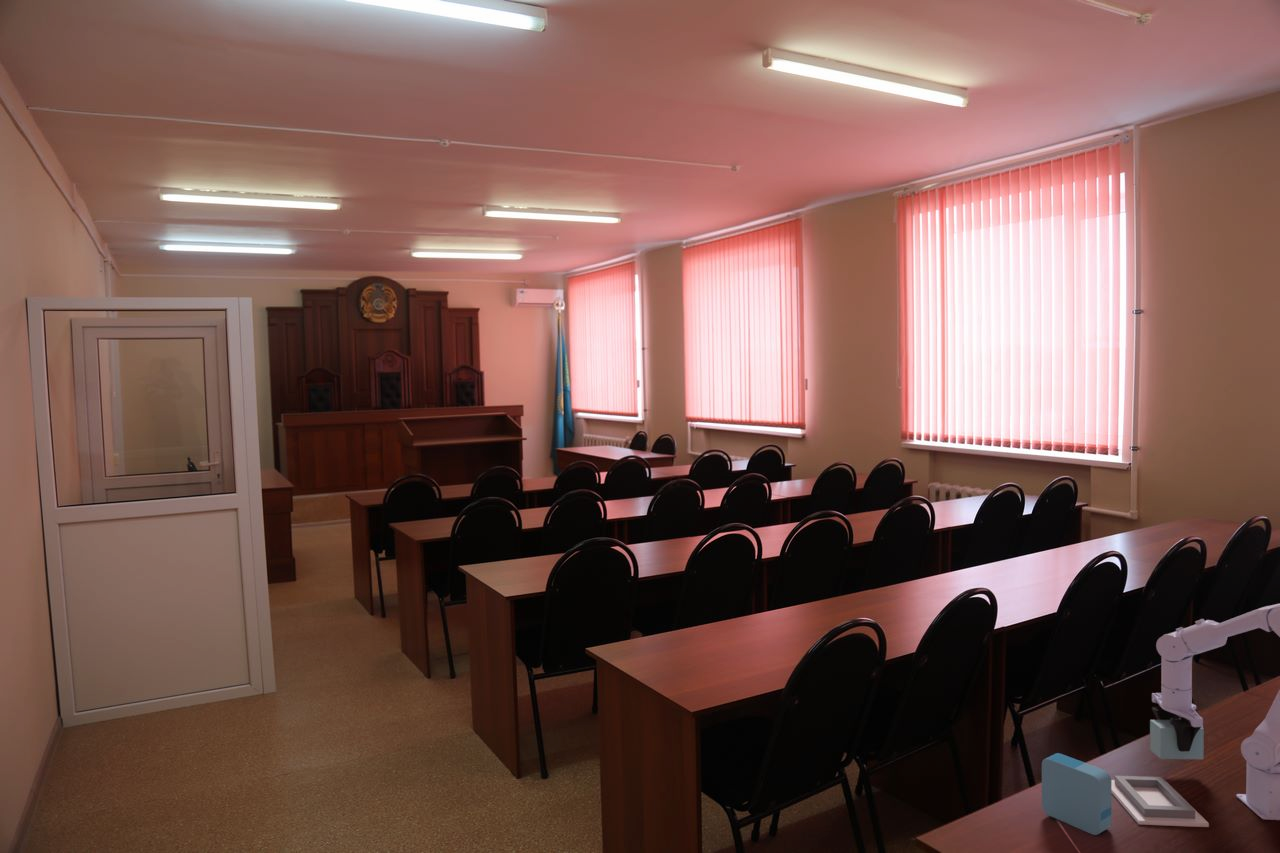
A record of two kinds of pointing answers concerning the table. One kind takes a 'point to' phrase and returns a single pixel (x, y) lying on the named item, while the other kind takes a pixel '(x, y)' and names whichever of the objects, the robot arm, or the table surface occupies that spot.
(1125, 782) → the socket plate
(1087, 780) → the data package
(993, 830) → the table surface
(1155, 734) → the key block
